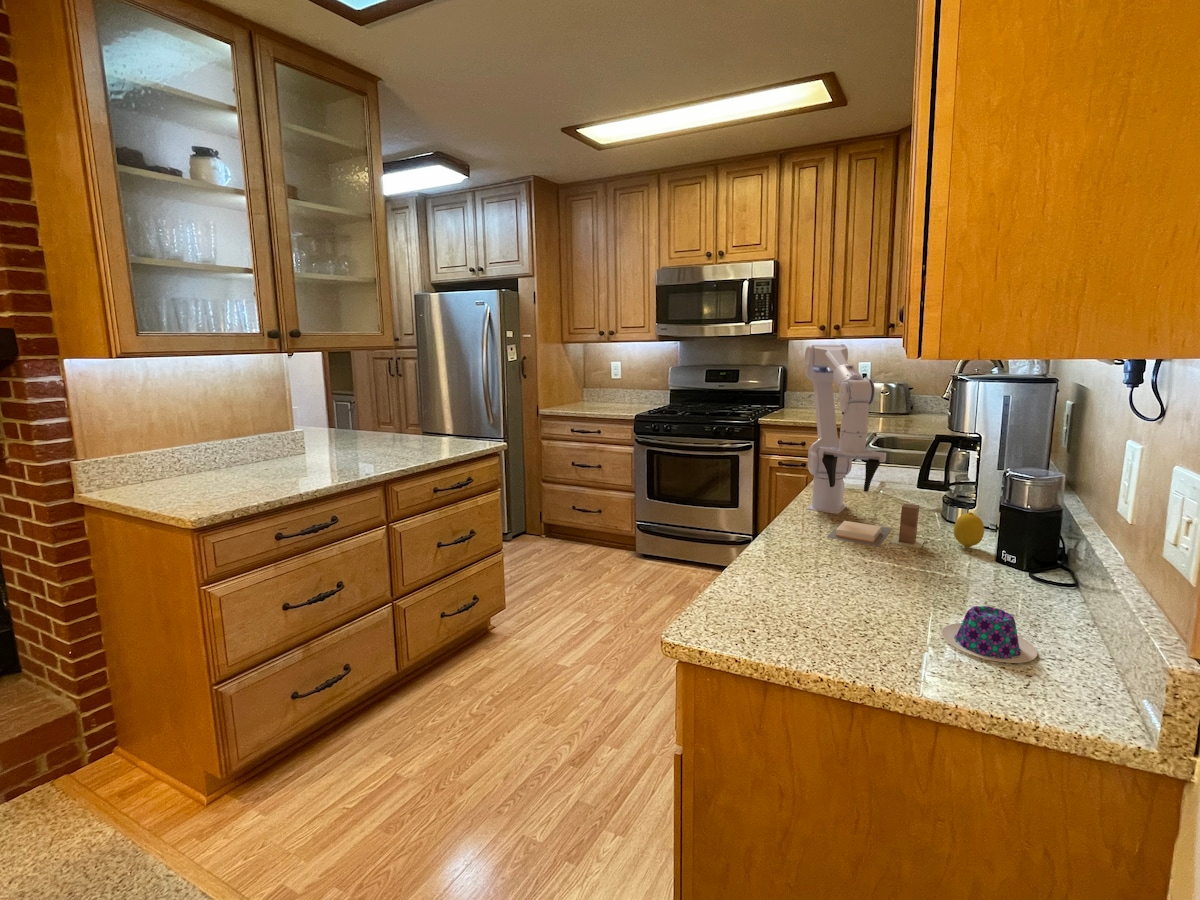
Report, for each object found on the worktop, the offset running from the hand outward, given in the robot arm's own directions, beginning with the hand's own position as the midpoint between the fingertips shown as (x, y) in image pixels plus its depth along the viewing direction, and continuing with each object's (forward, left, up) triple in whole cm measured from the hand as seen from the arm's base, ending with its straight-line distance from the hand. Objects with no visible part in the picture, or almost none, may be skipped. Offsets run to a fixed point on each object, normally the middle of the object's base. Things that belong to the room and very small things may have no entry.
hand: (848, 488), depth 145 cm
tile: (+2, +4, -8) cm, 9 cm away
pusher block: (+5, +14, -9) cm, 17 cm away
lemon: (+1, +25, -10) cm, 27 cm away
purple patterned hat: (+48, +31, -10) cm, 58 cm away
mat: (+4, +4, -9) cm, 11 cm away
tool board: (+5, +14, -9) cm, 18 cm away
